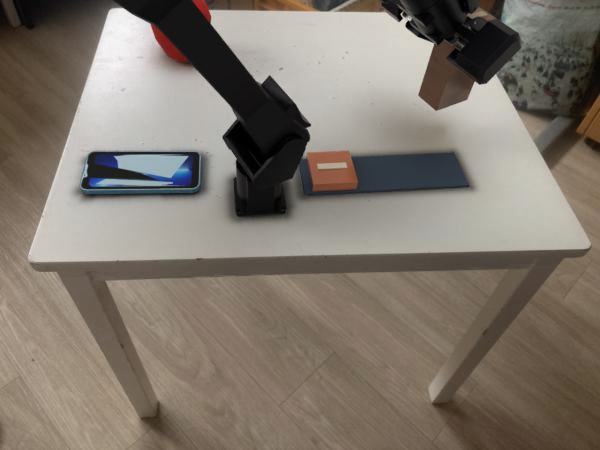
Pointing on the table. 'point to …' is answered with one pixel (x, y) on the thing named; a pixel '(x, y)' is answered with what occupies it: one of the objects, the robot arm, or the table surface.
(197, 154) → the smartphone
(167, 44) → the apple
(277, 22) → the table surface
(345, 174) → the letter tile
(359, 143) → the table surface
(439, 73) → the brown tall rectangular block
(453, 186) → the word mat
